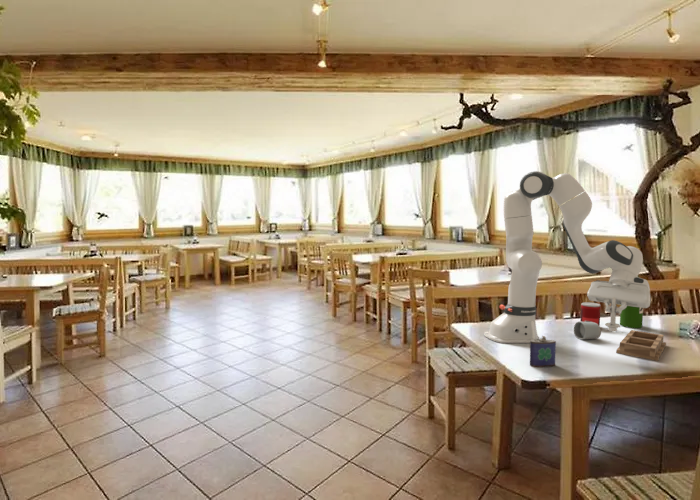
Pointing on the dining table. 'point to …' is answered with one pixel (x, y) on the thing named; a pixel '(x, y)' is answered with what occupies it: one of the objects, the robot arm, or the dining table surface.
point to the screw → (613, 317)
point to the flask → (542, 352)
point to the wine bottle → (631, 317)
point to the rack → (642, 345)
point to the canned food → (590, 312)
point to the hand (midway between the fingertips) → (612, 311)
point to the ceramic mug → (587, 330)
